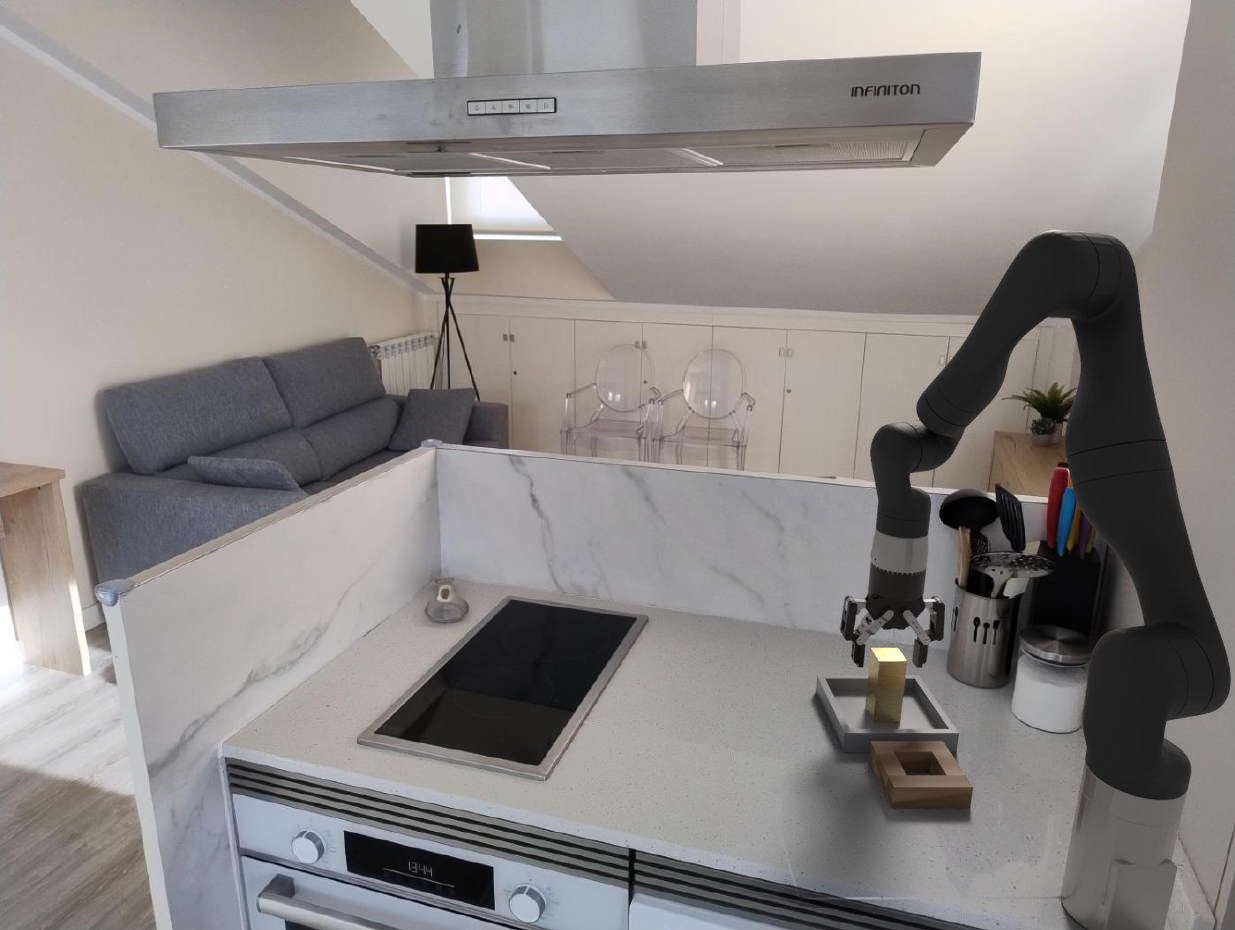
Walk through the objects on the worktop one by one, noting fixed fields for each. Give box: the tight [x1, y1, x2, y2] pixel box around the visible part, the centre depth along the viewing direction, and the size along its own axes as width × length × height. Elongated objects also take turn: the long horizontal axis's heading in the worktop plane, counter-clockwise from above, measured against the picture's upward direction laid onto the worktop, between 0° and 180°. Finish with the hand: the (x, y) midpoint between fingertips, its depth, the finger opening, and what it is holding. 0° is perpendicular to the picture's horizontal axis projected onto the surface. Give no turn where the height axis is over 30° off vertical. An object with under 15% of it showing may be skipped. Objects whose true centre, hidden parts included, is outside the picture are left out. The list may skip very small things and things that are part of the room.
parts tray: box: [815, 674, 960, 753], centre depth 129 cm, size 16×16×3 cm
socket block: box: [868, 741, 974, 809], centre depth 115 cm, size 10×10×3 cm
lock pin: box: [865, 647, 908, 723], centre depth 128 cm, size 4×4×10 cm
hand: (888, 665), depth 127 cm, fingers open, 8 cm apart
